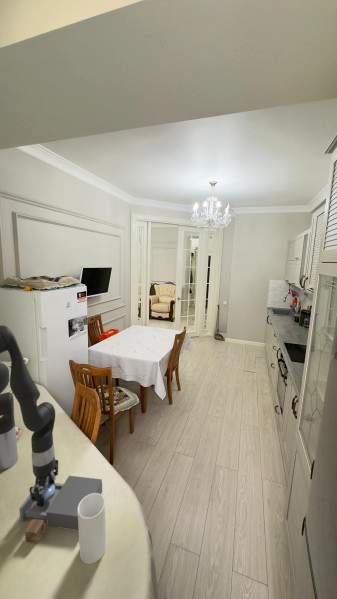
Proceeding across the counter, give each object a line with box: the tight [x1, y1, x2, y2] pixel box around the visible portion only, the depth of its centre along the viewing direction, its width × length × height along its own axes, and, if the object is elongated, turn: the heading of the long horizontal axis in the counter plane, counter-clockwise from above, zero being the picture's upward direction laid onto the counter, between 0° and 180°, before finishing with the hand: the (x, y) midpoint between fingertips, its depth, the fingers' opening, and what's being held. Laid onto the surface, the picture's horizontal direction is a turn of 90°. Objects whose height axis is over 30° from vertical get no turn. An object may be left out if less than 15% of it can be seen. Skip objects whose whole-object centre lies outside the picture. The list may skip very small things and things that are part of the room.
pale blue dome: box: [39, 483, 55, 502], centre depth 92 cm, size 6×6×2 cm
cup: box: [78, 493, 107, 565], centre depth 77 cm, size 8×8×16 cm
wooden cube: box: [24, 518, 45, 544], centre depth 81 cm, size 4×4×4 cm
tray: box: [19, 482, 64, 522], centre depth 92 cm, size 14×15×5 cm
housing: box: [46, 475, 103, 531], centre depth 91 cm, size 14×15×6 cm
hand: (46, 497), depth 92 cm, fingers closed on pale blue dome, 6 cm apart
